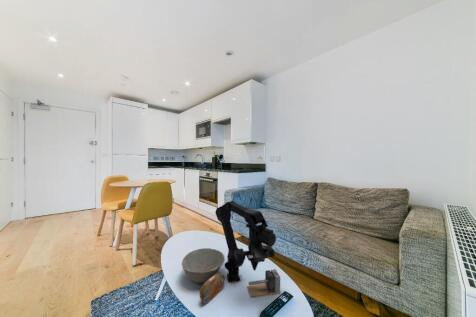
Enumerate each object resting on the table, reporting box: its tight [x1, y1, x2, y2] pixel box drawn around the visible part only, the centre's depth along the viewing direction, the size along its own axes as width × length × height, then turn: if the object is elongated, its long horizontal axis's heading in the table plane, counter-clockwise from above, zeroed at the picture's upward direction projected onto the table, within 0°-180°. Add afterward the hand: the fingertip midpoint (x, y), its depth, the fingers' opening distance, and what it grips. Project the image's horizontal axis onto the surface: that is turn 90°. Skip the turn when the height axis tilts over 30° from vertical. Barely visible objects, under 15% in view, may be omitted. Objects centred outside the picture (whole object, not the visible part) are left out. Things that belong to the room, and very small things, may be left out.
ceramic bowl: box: [181, 247, 226, 284], centre depth 101 cm, size 22×23×10 cm
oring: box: [264, 269, 275, 292], centre depth 92 cm, size 6×2×6 cm, turn 12°
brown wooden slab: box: [199, 272, 226, 304], centre depth 88 cm, size 15×3×8 cm, turn 144°
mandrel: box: [246, 269, 281, 299], centre depth 92 cm, size 7×15×8 cm, turn 102°
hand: (254, 269), depth 89 cm, fingers closed
